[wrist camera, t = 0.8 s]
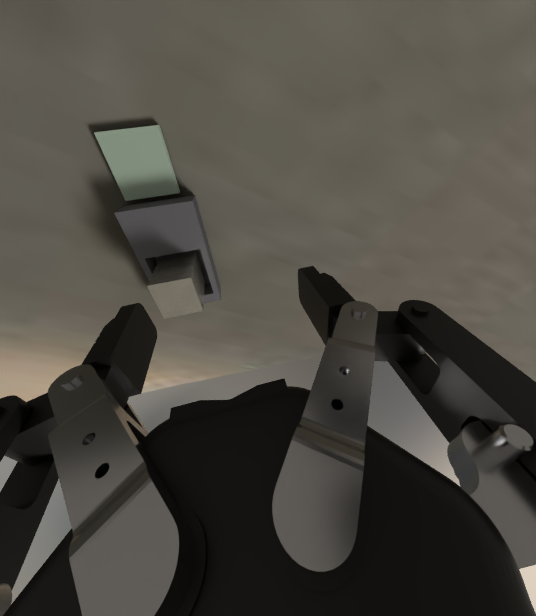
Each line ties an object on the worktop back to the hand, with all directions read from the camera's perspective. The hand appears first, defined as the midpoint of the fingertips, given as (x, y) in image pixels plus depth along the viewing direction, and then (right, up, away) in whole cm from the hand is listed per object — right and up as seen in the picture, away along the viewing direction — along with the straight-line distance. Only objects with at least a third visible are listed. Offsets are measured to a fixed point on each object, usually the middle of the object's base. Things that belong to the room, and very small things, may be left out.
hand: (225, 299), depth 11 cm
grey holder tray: (-10, +7, +18) cm, 22 cm away
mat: (-11, +15, +12) cm, 22 cm away
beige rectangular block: (-10, +5, +19) cm, 22 cm away
